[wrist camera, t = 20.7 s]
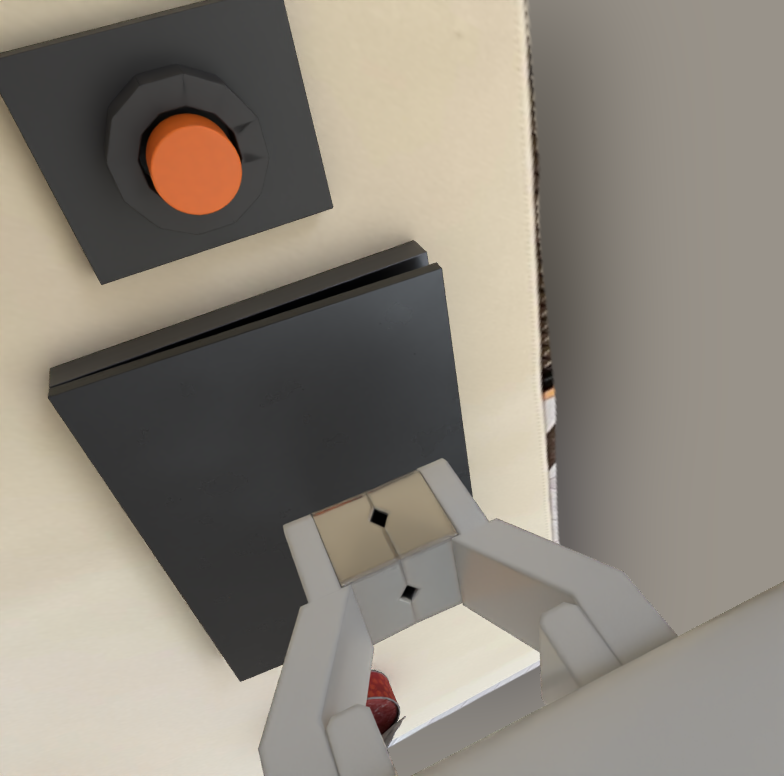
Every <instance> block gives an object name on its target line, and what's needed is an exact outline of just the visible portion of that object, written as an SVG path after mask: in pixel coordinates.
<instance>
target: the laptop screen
mask: <svg viewBox="0 0 784 776" xmlns="http://www.w3.org/2000/svg"><path fill="white" fill-rule="evenodd" d="M48 399H49V400H50V402H51V403H52V405H53V406H54V408H55V409H56V411H57V412H58V413H59V415H60V416H61V418H62V419H63V421H64V422H65V424H66V425H67V427H68V428H69V430H70V431H71V433H72V434H73V436H74V437H75V439H76V440H77V442H78V443H79V444H80V446H81V447H82V449H83V450H84V452H85V453H86V455H87V456H88V458H89V459H90V461H91V462H92V464H93V465H94V467H95V468H96V470H97V471H98V473H99V474H100V475H101V477H102V478H103V480H104V481H105V483H106V484H107V486H108V487H109V489H110V490H111V492H112V493H113V495H114V496H115V498H116V499H117V501H118V502H119V504H120V505H121V506H122V508H123V509H124V511H125V512H126V514H127V515H128V517H129V518H130V520H131V521H132V523H133V524H134V526H135V527H136V529H137V530H138V532H139V533H140V535H141V536H142V538H143V539H144V540H145V542H146V543H147V545H148V546H149V548H150V549H151V551H152V552H153V554H154V555H155V557H156V558H157V560H158V561H159V563H160V564H161V566H162V567H163V569H164V570H165V571H166V573H167V574H168V576H169V577H170V579H171V580H172V582H173V583H174V585H175V586H176V588H177V589H178V591H179V592H180V594H181V595H182V597H183V598H184V600H185V601H186V602H187V604H188V605H189V607H190V608H191V610H192V611H193V613H194V614H195V616H196V617H197V619H198V620H199V622H200V623H201V625H202V626H203V628H204V629H205V631H206V632H207V634H208V635H209V636H210V638H211V639H212V641H213V642H214V644H215V645H216V647H217V648H218V650H219V651H220V653H221V654H222V656H223V657H224V659H225V660H226V662H227V663H228V665H229V666H230V667H231V669H232V670H233V672H234V673H235V675H236V676H237V678H238V679H239V681H240V682H241V681H244V680H246V679H249V678H251V677H254V676H256V675H258V674H261V673H263V672H266V671H268V670H271V669H273V668H276V667H278V666H280V665H283V663H284V660H285V657H286V653H287V650H288V647H289V643H290V640H291V636H292V633H293V630H294V626H295V623H296V620H297V616H298V613H299V609H300V607H301V606H303V605H305V604H307V603H308V600H307V597H306V594H305V592H304V589H303V586H302V583H301V580H300V577H299V574H298V571H297V568H296V566H295V563H294V560H293V557H292V554H291V551H290V548H289V545H288V542H287V540H286V537H285V534H284V528H283V525H284V524H287V523H289V522H292V521H294V520H297V519H299V518H302V517H304V516H307V515H309V514H311V516H312V513H313V512H316V511H318V510H321V509H323V508H326V507H328V506H331V505H333V504H336V503H338V502H341V501H344V500H346V499H349V498H351V497H354V496H356V495H359V494H361V493H364V491H366V490H369V489H371V488H373V487H376V486H378V485H380V484H382V483H385V482H387V481H389V480H392V479H394V478H396V477H398V476H401V475H403V474H405V473H408V472H410V471H412V470H414V469H415V470H417V469H418V468H420V467H422V466H425V465H427V464H429V463H432V462H434V461H436V460H439V459H441V458H443V459H445V460H446V461H447V462H448V463H449V465H450V466H451V467H452V469H453V470H454V472H455V473H456V475H457V476H458V478H459V479H460V480H461V482H462V483H463V485H464V486H465V488H466V489H467V490H468V492H469V493H470V495H471V496H472V488H471V481H470V473H469V466H468V458H467V451H466V444H465V436H464V429H463V421H462V414H461V407H460V399H459V392H458V384H457V377H456V369H455V362H454V355H453V347H452V340H451V332H450V325H449V317H448V310H447V303H446V295H445V288H444V280H443V273H442V268H441V267H440V266H439V265H438V263H433V264H430V265H427V266H424V267H421V268H418V269H415V270H412V271H409V272H406V273H403V274H399V275H396V276H393V277H390V278H387V279H384V280H381V281H378V282H375V283H372V284H369V285H366V286H363V287H360V288H357V289H353V290H350V291H347V292H344V293H341V294H338V295H335V296H332V297H329V298H326V299H323V300H320V301H317V302H314V303H311V304H307V305H304V306H301V307H298V308H295V309H292V310H289V311H286V312H283V313H280V314H277V315H274V316H271V317H268V318H265V319H261V320H258V321H255V322H252V323H249V324H246V325H243V326H240V327H237V328H234V329H231V330H228V331H225V332H222V333H219V334H215V335H212V336H209V337H206V338H203V339H200V340H197V341H194V342H191V343H188V344H185V345H182V346H179V347H176V348H173V349H169V350H166V351H163V352H160V353H157V354H154V355H151V356H148V357H145V358H142V359H139V360H136V361H133V362H130V363H127V364H123V365H120V366H117V367H114V368H111V369H108V370H105V371H102V372H99V373H96V374H93V375H90V376H87V377H84V378H81V379H77V380H74V381H71V382H68V383H65V384H62V385H59V386H56V387H53V388H50V389H49V393H48ZM472 498H473V496H472ZM312 518H313V516H312ZM313 520H314V519H313ZM315 525H316V524H315Z"/></svg>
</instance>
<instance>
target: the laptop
mask: <svg viewBox="0 0 784 776" xmlns="http://www.w3.org/2000/svg"><path fill="white" fill-rule="evenodd" d="M427 265H429V263H428V256H427V252H426V251H425V250H424V249H423V248H422V247H421V246H420V245H419V244H418V243H417V242H415V241H411V242H408V243H406V244H403V245H400V246H397V247H394V248H391V249H389V250H386V251H383V252H380V253H377V254H374V255H371V256H369V257H366V258H363V259H360V260H357V261H354V262H352V263H349V264H346V265H343V266H340V267H337V268H335V269H332V270H329V271H326V272H323V273H320V274H317V275H315V276H312V277H309V278H306V279H303V280H300V281H298V282H295V283H292V284H289V285H286V286H283V287H281V288H278V289H275V290H272V291H269V292H266V293H263V294H261V295H258V296H255V297H252V298H249V299H246V300H244V301H241V302H238V303H235V304H232V305H229V306H227V307H224V308H221V309H218V310H215V311H212V312H210V313H207V314H204V315H201V316H198V317H195V318H192V319H190V320H187V321H184V322H181V323H178V324H175V325H173V326H170V327H167V328H164V329H161V330H158V331H156V332H153V333H150V334H147V335H144V336H141V337H138V338H136V339H133V340H130V341H127V342H124V343H121V344H119V345H116V346H113V347H110V348H107V349H104V350H102V351H99V352H96V353H93V354H90V355H87V356H85V357H82V358H79V359H76V360H73V361H70V362H67V363H65V364H62V365H59V366H56V367H53V368H51V369H50V381H49V388H53V387H56V386H59V385H62V384H65V383H68V382H71V381H74V380H77V379H81V378H84V377H87V376H90V375H93V374H96V373H99V372H102V371H105V370H108V369H111V368H114V367H117V366H120V365H123V364H127V363H130V362H133V361H136V360H139V359H142V358H145V357H148V356H151V355H154V354H157V353H160V352H163V351H166V350H169V349H173V348H176V347H179V346H182V345H185V344H188V343H191V342H194V341H197V340H200V339H203V338H206V337H209V336H212V335H215V334H219V333H222V332H225V331H228V330H231V329H234V328H237V327H240V326H243V325H246V324H249V323H252V322H255V321H258V320H261V319H265V318H268V317H271V316H274V315H277V314H280V313H283V312H286V311H289V310H292V309H295V308H298V307H301V306H304V305H307V304H311V303H314V302H317V301H320V300H323V299H326V298H329V297H332V296H335V295H338V294H341V293H344V292H347V291H350V290H353V289H357V288H360V287H363V286H366V285H369V284H372V283H375V282H378V281H381V280H384V279H387V278H390V277H393V276H396V275H399V274H403V273H406V272H409V271H412V270H415V269H418V268H421V267H424V266H427Z"/></svg>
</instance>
